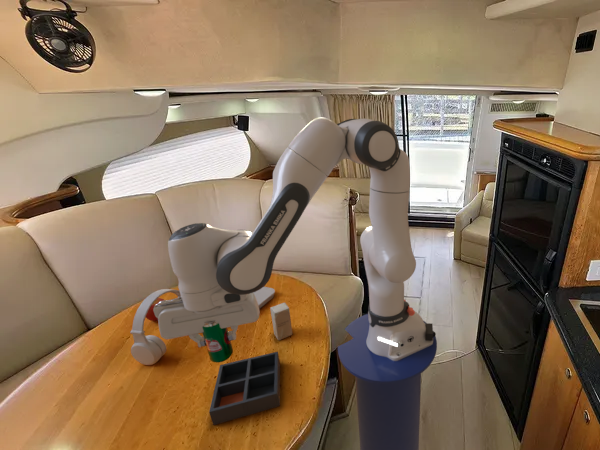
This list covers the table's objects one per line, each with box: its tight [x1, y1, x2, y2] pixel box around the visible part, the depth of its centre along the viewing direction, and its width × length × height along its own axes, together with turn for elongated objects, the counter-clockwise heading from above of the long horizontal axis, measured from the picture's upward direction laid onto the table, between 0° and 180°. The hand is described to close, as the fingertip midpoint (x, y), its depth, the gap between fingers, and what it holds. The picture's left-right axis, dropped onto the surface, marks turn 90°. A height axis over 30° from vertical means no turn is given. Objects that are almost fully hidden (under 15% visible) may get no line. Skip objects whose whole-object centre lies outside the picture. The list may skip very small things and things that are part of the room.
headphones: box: [130, 288, 181, 366], centre depth 100 cm, size 20×8×19 cm, turn 173°
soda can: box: [201, 320, 234, 364], centre depth 75 cm, size 5×5×12 cm
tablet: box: [254, 286, 276, 310], centre depth 127 cm, size 16×26×2 cm, turn 72°
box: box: [269, 302, 293, 341], centre depth 106 cm, size 5×4×11 cm
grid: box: [208, 351, 281, 426], centre depth 86 cm, size 16×16×5 cm
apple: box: [145, 297, 165, 322], centre depth 115 cm, size 8×8×8 cm
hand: (218, 341), depth 76 cm, fingers closed on soda can, 5 cm apart
